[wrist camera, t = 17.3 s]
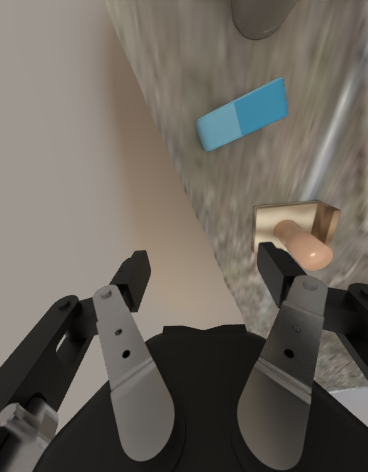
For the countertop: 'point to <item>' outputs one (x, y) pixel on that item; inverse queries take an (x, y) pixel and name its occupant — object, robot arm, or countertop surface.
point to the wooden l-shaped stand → (303, 213)
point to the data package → (243, 115)
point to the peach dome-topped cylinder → (303, 245)
